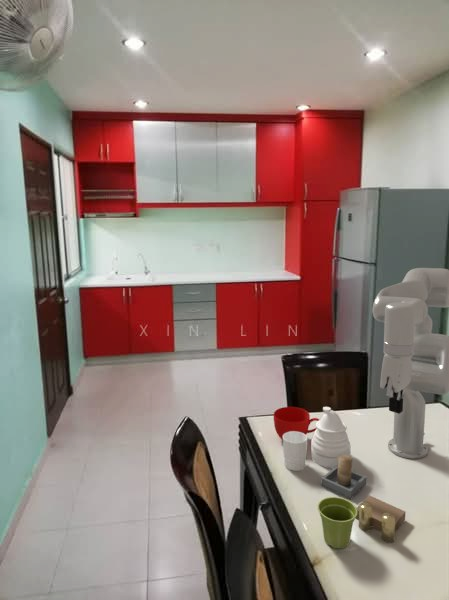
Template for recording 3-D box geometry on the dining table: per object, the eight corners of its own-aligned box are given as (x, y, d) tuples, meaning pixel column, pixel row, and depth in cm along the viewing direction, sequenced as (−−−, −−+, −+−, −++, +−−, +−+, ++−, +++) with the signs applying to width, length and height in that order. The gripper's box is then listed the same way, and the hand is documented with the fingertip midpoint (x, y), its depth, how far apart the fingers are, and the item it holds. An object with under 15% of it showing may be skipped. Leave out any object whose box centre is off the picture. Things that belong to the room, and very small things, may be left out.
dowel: (342, 477, 130) (344, 453, 128) (353, 483, 127) (355, 459, 125) (334, 481, 127) (335, 457, 126) (344, 488, 124) (346, 464, 123)
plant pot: (312, 528, 109) (312, 497, 108) (347, 525, 110) (348, 495, 109) (323, 555, 100) (324, 523, 99) (362, 552, 101) (363, 519, 99)
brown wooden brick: (369, 504, 118) (369, 495, 118) (404, 521, 111) (405, 511, 111) (355, 519, 113) (355, 509, 112) (391, 537, 106) (392, 527, 105)
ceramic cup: (321, 451, 146) (322, 424, 145) (272, 447, 149) (272, 421, 148) (319, 433, 159) (320, 408, 157) (274, 430, 162) (274, 405, 160)
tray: (337, 472, 134) (337, 464, 133) (366, 484, 127) (366, 476, 127) (321, 485, 127) (321, 478, 127) (350, 499, 120) (350, 491, 120)
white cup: (307, 473, 134) (307, 444, 132) (281, 471, 135) (281, 442, 133) (307, 459, 141) (307, 432, 139) (283, 457, 143) (283, 430, 141)
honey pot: (328, 472, 134) (329, 419, 131) (303, 453, 145) (303, 404, 142) (358, 461, 140) (360, 410, 137) (332, 444, 151) (333, 396, 148)
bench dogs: (362, 521, 111) (362, 500, 110) (396, 538, 105) (397, 516, 104) (356, 527, 109) (357, 506, 108) (390, 544, 103) (392, 522, 102)
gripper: (396, 339, 122) (393, 398, 126) (372, 352, 112) (370, 417, 115) (423, 344, 117) (419, 406, 120) (401, 358, 106) (398, 425, 110)
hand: (395, 411), depth 118 cm, fingers closed
